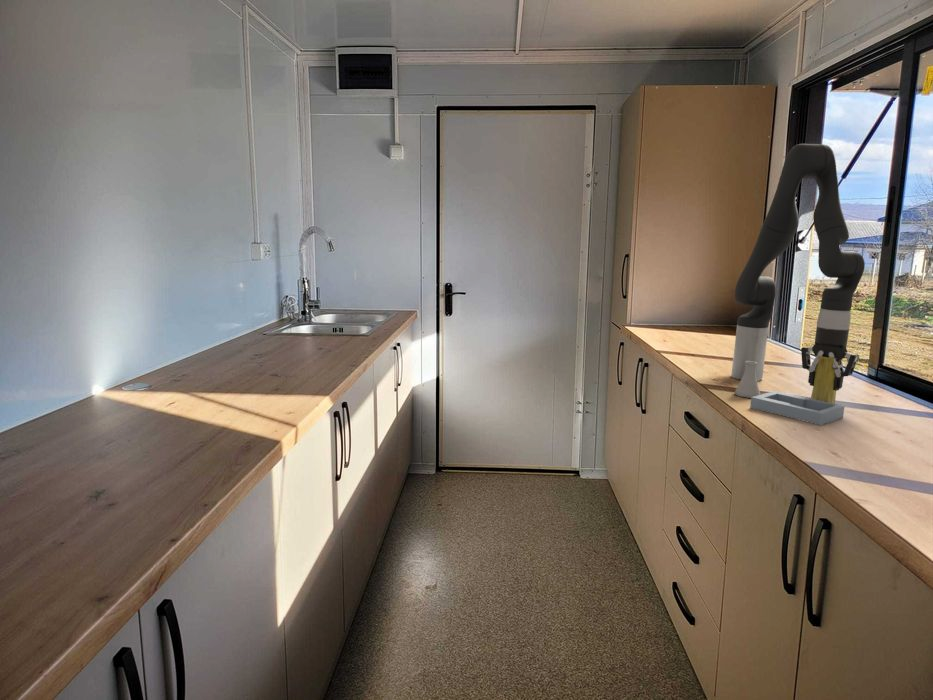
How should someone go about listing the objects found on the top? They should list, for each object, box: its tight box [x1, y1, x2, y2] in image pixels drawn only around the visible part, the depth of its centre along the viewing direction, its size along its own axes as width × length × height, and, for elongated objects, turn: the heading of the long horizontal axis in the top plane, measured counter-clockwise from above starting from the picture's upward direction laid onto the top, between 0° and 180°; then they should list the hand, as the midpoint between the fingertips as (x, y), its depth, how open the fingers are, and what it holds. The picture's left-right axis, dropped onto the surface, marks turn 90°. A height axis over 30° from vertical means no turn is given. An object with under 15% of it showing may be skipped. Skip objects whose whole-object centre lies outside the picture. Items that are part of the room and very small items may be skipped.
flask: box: [734, 361, 761, 399], centre depth 178 cm, size 7×7×10 cm
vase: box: [810, 356, 840, 404], centre depth 168 cm, size 6×6×14 cm
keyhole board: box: [750, 390, 845, 426], centre depth 163 cm, size 13×18×3 cm
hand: (824, 387), depth 168 cm, fingers closed on vase, 5 cm apart
